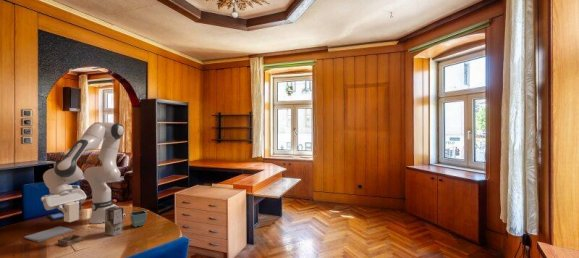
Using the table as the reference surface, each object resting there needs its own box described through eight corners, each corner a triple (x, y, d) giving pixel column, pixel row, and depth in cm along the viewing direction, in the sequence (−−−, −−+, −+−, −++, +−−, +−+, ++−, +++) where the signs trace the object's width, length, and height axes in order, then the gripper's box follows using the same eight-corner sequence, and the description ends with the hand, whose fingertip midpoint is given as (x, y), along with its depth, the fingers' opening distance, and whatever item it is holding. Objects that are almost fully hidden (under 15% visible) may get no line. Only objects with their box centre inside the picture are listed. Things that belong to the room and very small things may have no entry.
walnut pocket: (73, 238, 157) (73, 234, 157) (82, 240, 154) (82, 236, 154) (57, 243, 149) (57, 239, 149) (66, 246, 146) (66, 242, 146)
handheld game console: (47, 216, 193) (47, 204, 193) (70, 212, 204) (70, 200, 204) (52, 221, 184) (53, 208, 184) (76, 216, 195) (76, 204, 195)
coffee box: (123, 232, 167) (123, 207, 167) (113, 236, 161) (113, 210, 161) (114, 229, 171) (115, 205, 171) (104, 233, 165) (104, 208, 165)
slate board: (59, 227, 173) (59, 226, 173) (73, 230, 168) (73, 229, 168) (24, 238, 156) (24, 236, 156) (38, 242, 151) (38, 240, 151)
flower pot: (129, 225, 179) (129, 212, 179) (143, 222, 185) (144, 210, 185) (132, 229, 173) (132, 215, 173) (146, 226, 179) (147, 213, 179)
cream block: (73, 218, 155) (73, 201, 155) (79, 219, 154) (78, 202, 153) (63, 221, 151) (63, 204, 150) (69, 222, 149) (69, 205, 149)
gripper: (41, 193, 144) (52, 212, 141) (82, 185, 164) (92, 202, 160) (37, 200, 146) (47, 219, 143) (77, 191, 165) (87, 208, 162)
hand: (71, 210), depth 152 cm, fingers closed on cream block, 5 cm apart
